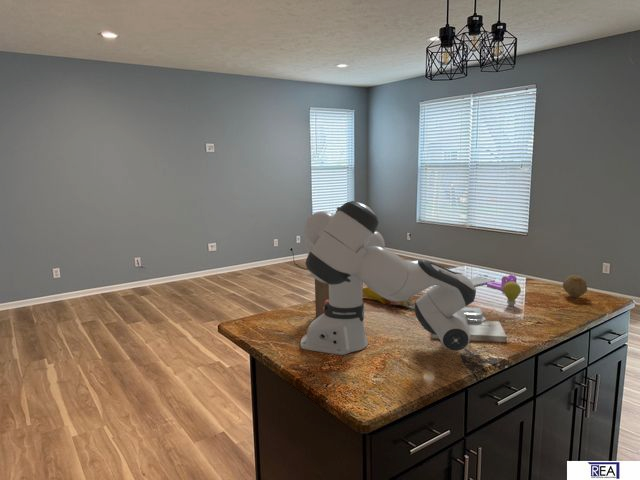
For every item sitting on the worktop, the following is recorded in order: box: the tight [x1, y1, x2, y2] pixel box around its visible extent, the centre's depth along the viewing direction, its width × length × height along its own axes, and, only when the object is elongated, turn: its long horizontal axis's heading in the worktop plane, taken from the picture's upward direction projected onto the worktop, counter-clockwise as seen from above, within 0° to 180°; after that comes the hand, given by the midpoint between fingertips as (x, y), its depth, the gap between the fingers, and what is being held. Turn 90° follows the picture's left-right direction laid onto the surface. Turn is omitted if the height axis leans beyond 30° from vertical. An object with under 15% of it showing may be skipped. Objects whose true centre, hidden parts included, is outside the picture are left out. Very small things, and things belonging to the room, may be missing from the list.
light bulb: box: [502, 282, 522, 307], centre depth 183 cm, size 7×7×10 cm
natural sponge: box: [562, 274, 588, 299], centre depth 192 cm, size 9×9×10 cm
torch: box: [363, 286, 415, 308], centre depth 192 cm, size 8×8×25 cm
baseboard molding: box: [432, 274, 496, 288], centre depth 217 cm, size 31×3×12 cm
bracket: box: [486, 274, 517, 291], centre depth 209 cm, size 13×6×7 cm, turn 31°
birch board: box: [430, 320, 507, 343], centre depth 157 cm, size 24×14×2 cm, turn 78°
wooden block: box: [314, 278, 329, 319], centre depth 176 cm, size 10×10×20 cm
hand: (448, 306), depth 152 cm, fingers closed on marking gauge, 3 cm apart
